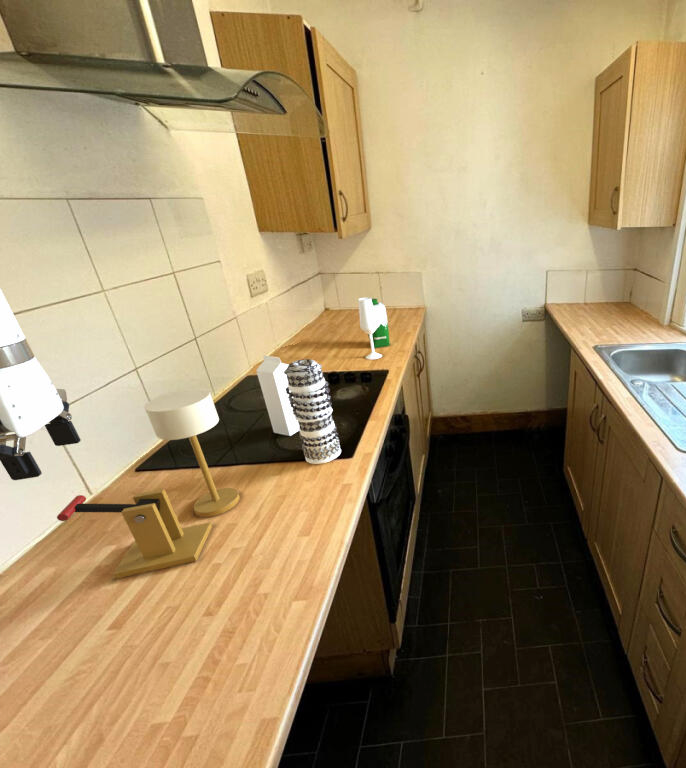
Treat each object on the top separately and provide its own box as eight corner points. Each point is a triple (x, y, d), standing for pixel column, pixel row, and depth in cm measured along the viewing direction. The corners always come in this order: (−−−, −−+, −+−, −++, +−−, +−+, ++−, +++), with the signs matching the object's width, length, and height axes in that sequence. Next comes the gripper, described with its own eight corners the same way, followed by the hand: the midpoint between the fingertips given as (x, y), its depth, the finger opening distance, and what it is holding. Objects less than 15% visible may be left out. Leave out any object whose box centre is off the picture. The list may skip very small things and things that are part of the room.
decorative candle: (335, 464, 101) (313, 369, 91) (297, 465, 101) (271, 370, 91) (348, 444, 110) (329, 355, 100) (312, 445, 110) (291, 356, 100)
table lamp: (181, 525, 83) (133, 415, 73) (198, 494, 92) (158, 392, 81) (238, 514, 86) (200, 406, 76) (249, 485, 94) (216, 385, 84)
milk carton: (387, 340, 192) (381, 297, 183) (392, 346, 184) (386, 301, 176) (367, 343, 188) (360, 299, 180) (372, 349, 180) (365, 303, 172)
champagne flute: (367, 360, 168) (357, 301, 158) (364, 355, 173) (354, 298, 164) (383, 357, 171) (375, 299, 161) (380, 352, 176) (371, 296, 167)
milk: (290, 436, 114) (269, 361, 105) (273, 432, 116) (252, 359, 107) (307, 425, 119) (289, 353, 110) (290, 422, 121) (271, 351, 112)
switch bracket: (115, 579, 71) (85, 525, 66) (139, 541, 79) (114, 491, 74) (196, 561, 75) (174, 509, 70) (212, 526, 82) (193, 478, 78)
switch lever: (57, 523, 67) (55, 511, 66) (75, 504, 71) (74, 492, 70) (151, 523, 71) (150, 512, 71) (163, 505, 76) (163, 494, 75)
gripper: (4, 342, 65) (55, 436, 72) (-104, 384, 50) (-27, 499, 57) (65, 337, 67) (108, 429, 74) (-22, 376, 52) (43, 487, 59)
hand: (49, 459), depth 65 cm, fingers open, 9 cm apart
